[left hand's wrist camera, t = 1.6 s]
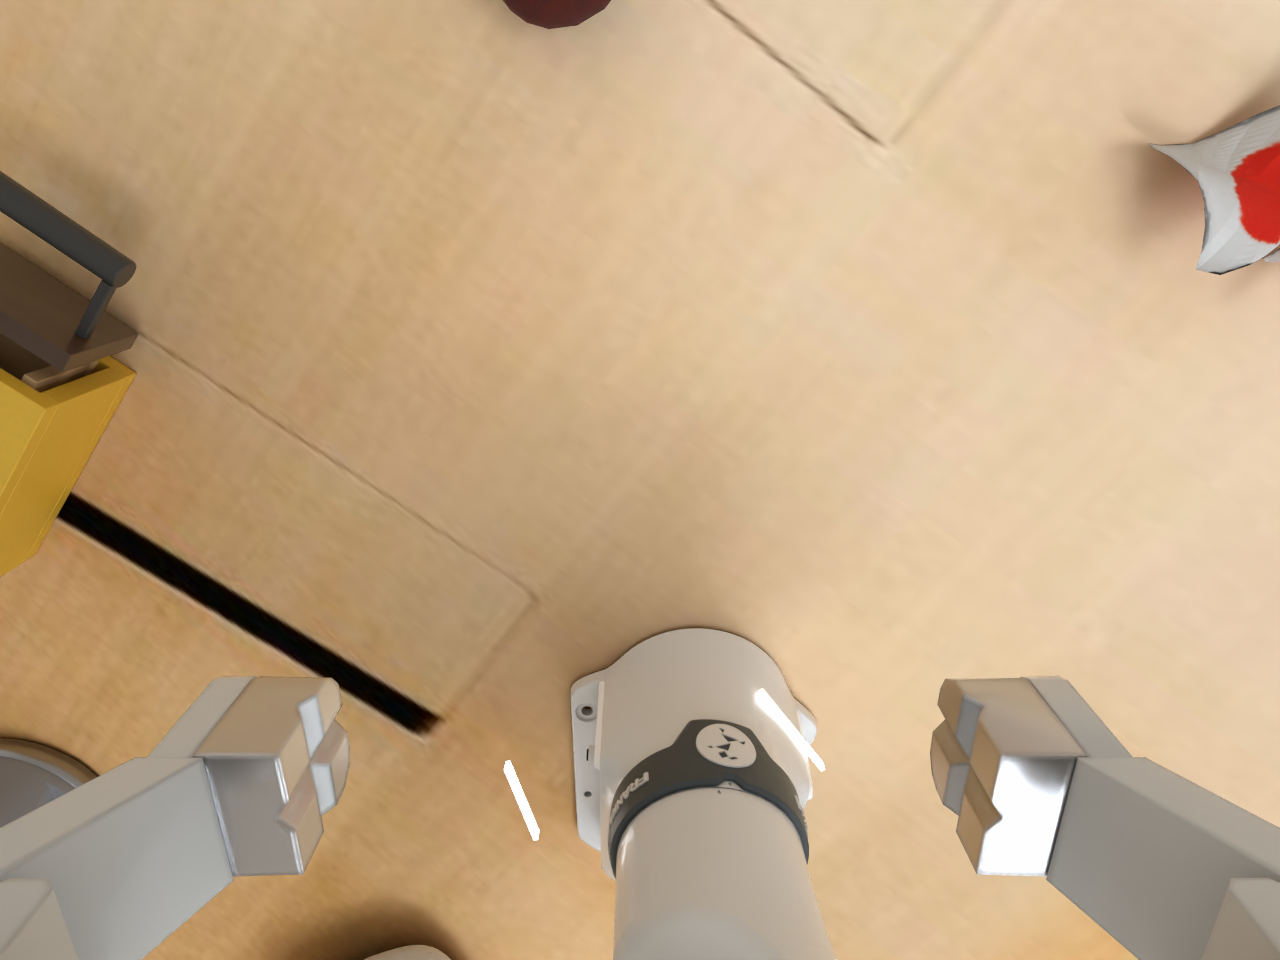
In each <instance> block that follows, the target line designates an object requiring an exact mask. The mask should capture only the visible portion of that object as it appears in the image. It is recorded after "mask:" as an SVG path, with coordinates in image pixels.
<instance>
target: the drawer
mask: <svg viewBox="0 0 1280 960" xmlns="http://www.w3.org/2000/svg"><path fill="white" fill-rule="evenodd" d="M0 211H1V212H2V213H4V214H5V215H7V216H8V217H10V218H11V219H13V220H14V221H16V222H17V223H19V224H20V225H22V226H23V227H25V228H26V229H28V230H29V231H31V232H32V233H34V234H35V235H37V236H38V237H40V238H41V239H43V240H44V241H46V242H47V243H49V244H50V245H52V246H53V247H55V248H56V249H58V250H59V251H61V252H62V253H64V254H65V255H67V256H68V257H70V258H71V259H73V260H74V261H76V262H77V263H79V264H80V265H82V266H83V267H85V268H86V269H88V270H89V271H91V272H92V273H94V274H95V275H97V276H98V277H100V278H101V279H103V280H102V281H101V283H100V285H99V287H98V289H97V291H96V292H95V294H94V296H93V298H92V300H91V302H90V301H88V300H87V299H85V298H84V297H82V296H81V295H79V294H78V293H76V292H75V291H73V290H72V289H70V288H69V287H67V286H66V285H64V284H63V283H61V282H60V281H58V280H57V279H55V278H54V277H52V276H51V275H49V274H47V273H46V272H44V271H43V270H41V269H40V268H38V267H37V266H35V265H34V264H32V263H31V262H29V261H28V260H26V259H25V258H23V257H22V256H20V255H19V254H17V253H16V252H14V251H13V250H11V249H10V248H8V247H7V246H5V245H4V244H2V243H1V242H0V368H1V369H3V370H4V371H6V372H8V373H9V374H11V375H12V376H14V377H16V378H17V379H19V380H20V381H22V382H24V383H25V384H27V385H28V386H30V387H32V388H33V389H35V390H36V391H38V392H40V393H41V392H44V391H47V390H49V389H52V388H55V387H58V386H60V385H63V384H66V383H68V382H71V381H74V380H77V379H79V378H82V377H85V376H87V375H90V374H92V373H93V371H94V369H95V368H96V366H97V364H98V362H99V361H98V359H101V358H104V357H107V356H110V355H113V354H116V353H119V352H122V351H125V350H127V349H130V348H131V347H132V345H133V343H134V341H135V339H136V337H137V336H138V333H137V332H135V331H134V330H132V329H131V328H129V327H128V326H126V325H125V324H123V323H122V322H120V321H119V320H117V319H116V318H114V317H113V316H111V315H110V314H108V313H107V312H105V311H104V310H105V308H106V306H107V305H108V303H109V301H110V299H111V297H112V295H113V293H114V291H115V289H116V288H118V287H121V286H123V285H124V284H126V283H127V282H128V281H129V280H130V279H131V277H132V276H133V274H134V272H135V270H136V264H135V263H134V262H133V261H132V260H130V259H129V258H127V257H126V256H124V255H123V254H121V253H120V252H119V251H117V250H116V249H114V248H113V247H111V246H110V245H108V244H107V243H105V242H104V241H102V240H101V239H99V238H98V237H96V236H95V235H94V234H92V233H91V232H89V231H88V230H86V229H85V228H83V227H82V226H80V225H79V224H77V223H76V222H74V221H73V220H72V219H70V218H69V217H67V216H66V215H64V214H63V213H61V212H60V211H58V210H57V209H55V208H54V207H52V206H51V205H49V204H48V203H47V202H45V201H44V200H42V199H41V198H39V197H38V196H36V195H35V194H33V193H32V192H30V191H29V190H27V189H26V188H25V187H23V186H22V185H20V184H19V183H17V182H16V181H14V180H13V179H11V178H10V177H8V176H7V175H5V174H4V173H2V172H1V171H0Z"/></svg>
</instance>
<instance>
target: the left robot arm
mask: <svg viewBox="0 0 1280 960" xmlns="http://www.w3.org/2000/svg"><path fill="white" fill-rule="evenodd" d="M570 693H571V715H572V735H573V754H574V773H575V793H576V812H577V829H578V835H579V837H580V839H581V840H582V841H584V842H585V843H587V844H588V845H590V846H591V847H593V848H594V849H596V850H598V851H600V852H601V868H602V869H603V871H604V872H605V873H606V874H607V875H608V876H609V877H610V878H611V879H613V880H614V881H615V882H616V889H615V916H614V947H613V960H838V958H837V956H836V954H835V952H834V949H833V947H832V944H831V942H830V939H829V936H828V933H827V930H826V927H825V924H824V921H823V918H822V915H821V912H820V909H819V905H818V902H817V899H816V896H815V893H814V889H813V886H812V882H811V878H810V875H809V871H808V867H807V864H808V857H809V845H808V838H807V837H808V834H807V824H806V820H805V815H804V812H803V809H804V807H805V805H806V803H807V800H809V799H811V798H812V794H813V786H812V780H811V774H810V769H809V763H808V758H807V754H808V756H809V757H810V758H811V759H812V760H813V762H814V763H815V764H816V765H817V767H818V768H819V769H820V770H821V771H823V770H825V768H824V764H823V762H822V760H821V759H820V758H819V757H818V756H817V754H816V753H815V752H814V751H813V749H812V748H811V747H810V745H811V743H812V742H813V740H814V738H815V736H816V734H817V727H816V721H815V718H814V717H813V715H812V714H811V713H810V712H809V711H808V710H807V709H806V708H805V707H804V706H803V705H802V704H800V703H799V702H798V701H797V700H796V699H794V697H793V696H792V694H791V693H790V691H789V689H788V686H787V684H786V681H785V679H784V677H783V675H782V673H781V671H780V669H779V668H778V666H777V665H776V664H775V662H774V661H773V660H772V659H771V658H770V657H769V656H768V655H767V654H766V653H765V652H764V651H763V650H761V649H760V648H759V647H757V646H756V645H755V644H753V643H751V642H749V641H748V640H746V639H744V638H742V637H739V636H737V635H734V634H731V633H728V632H724V631H719V630H714V629H705V628H688V629H679V630H674V631H669V632H665V633H662V634H659V635H656V636H653V637H651V638H649V639H647V640H645V641H643V642H641V643H639V644H638V645H636V646H635V647H633V648H632V649H630V650H629V651H628V652H626V653H625V654H624V655H623V656H622V657H621V658H620V659H618V660H617V661H616V662H615V663H614V664H613V665H611V666H610V667H608V668H607V669H604V670H601V671H598V672H596V673H593V674H590V675H587V676H585V677H583V678H581V679H579V680H577V681H576V682H575V683H574V684H573V685H572V687H571V692H570ZM341 706H342V700H341V695H340V690H339V685H338V683H337V682H336V681H334V680H333V679H332V678H309V677H263V676H260V677H254V676H222V677H220V678H217V679H214V680H212V681H211V682H210V684H209V685H208V686H207V687H206V688H205V689H204V691H203V692H202V693H201V694H200V695H199V697H198V698H197V699H196V700H195V701H194V702H193V704H192V705H191V706H190V707H189V708H188V709H187V711H186V712H185V713H184V714H183V715H182V717H181V718H180V719H179V720H178V721H177V722H176V724H175V725H174V726H173V727H172V728H171V730H170V731H169V732H168V733H167V734H166V735H165V737H164V738H163V739H162V740H161V741H160V742H159V744H158V745H157V746H156V747H155V748H154V750H153V751H152V752H151V753H150V754H149V755H148V757H145V758H133V759H131V760H129V761H127V762H125V763H123V764H121V765H119V766H118V767H116V768H114V769H112V770H110V771H108V772H106V773H104V774H102V775H100V776H98V777H97V778H95V779H93V780H91V781H89V782H87V783H85V784H83V785H81V786H79V787H77V788H75V789H74V790H72V791H70V792H68V793H66V794H64V795H62V796H60V797H58V798H56V799H54V800H53V801H51V802H49V803H47V804H45V805H43V806H41V807H39V808H37V809H35V810H33V811H32V812H30V813H28V814H26V815H24V816H22V817H20V818H18V819H16V820H14V821H12V822H11V823H9V824H7V825H5V826H3V827H1V828H0V960H141V959H143V958H144V957H145V956H146V955H147V954H148V953H150V952H151V951H152V950H153V949H154V948H155V947H157V946H158V945H159V944H160V943H161V942H162V941H163V940H165V939H166V938H167V937H168V936H169V935H170V934H172V933H173V932H174V931H175V930H176V929H177V928H179V927H180V926H181V925H182V924H183V923H184V922H186V921H187V920H188V919H189V918H190V917H191V916H192V915H194V914H195V913H196V912H197V911H198V910H199V909H201V908H202V907H203V906H204V905H205V904H206V903H208V902H209V901H210V900H211V899H212V898H213V897H215V896H216V895H217V894H218V893H219V892H220V891H221V890H223V889H224V888H225V887H226V886H227V885H228V884H230V883H231V882H232V881H233V876H261V875H295V874H303V873H304V871H305V869H306V867H307V865H308V863H309V861H310V859H311V857H312V855H313V853H314V851H315V849H316V847H317V845H318V843H319V841H320V838H321V836H322V834H323V832H324V830H323V824H322V819H321V816H322V815H323V814H324V813H326V812H327V811H328V810H330V809H331V808H333V807H334V806H335V805H337V803H338V801H339V798H340V796H341V794H342V792H343V790H344V787H345V783H346V778H347V774H348V769H349V749H350V747H349V740H348V734H347V731H346V730H345V729H344V728H343V727H342V726H341V725H340V724H339V723H338V722H337V721H336V720H335V717H336V715H337V714H338V712H339V710H340V708H341ZM585 706H589V707H591V709H584V708H583V707H585ZM938 706H939V708H940V710H941V712H942V714H943V715H944V717H945V720H944V721H943V722H942V723H941V724H940V725H939V726H938V727H937V728H936V729H935V730H934V731H933V734H932V742H931V750H930V757H931V769H932V776H933V779H934V783H935V787H936V790H937V792H938V794H939V796H940V799H941V801H942V803H943V805H945V806H946V807H947V808H949V809H950V810H952V811H953V812H954V813H956V814H957V815H958V816H959V819H958V824H957V830H956V832H957V834H958V836H959V838H960V841H961V843H962V845H963V847H964V849H965V851H966V853H967V855H968V857H969V859H970V861H971V863H972V865H973V867H974V869H975V871H976V873H977V874H983V875H1018V876H1047V879H1046V880H1047V881H1048V882H1050V883H1051V884H1052V885H1053V886H1054V887H1055V888H1057V889H1058V890H1059V891H1060V892H1061V893H1062V894H1064V895H1065V896H1066V897H1067V898H1068V899H1069V900H1070V901H1072V902H1073V903H1074V904H1075V905H1076V906H1077V907H1079V908H1080V909H1081V910H1082V911H1083V912H1084V913H1086V914H1087V915H1088V916H1089V917H1090V918H1091V919H1092V920H1094V921H1095V922H1096V923H1097V924H1098V925H1099V926H1101V927H1102V928H1103V929H1104V930H1105V931H1106V932H1107V933H1109V934H1110V935H1111V936H1112V937H1113V938H1114V939H1116V940H1117V941H1118V942H1119V943H1120V944H1121V945H1123V946H1124V947H1125V948H1126V949H1127V950H1128V951H1129V952H1131V953H1132V954H1133V955H1134V956H1135V957H1136V958H1138V959H1139V960H1280V828H1279V827H1277V826H1275V825H1273V824H1271V823H1269V822H1267V821H1265V820H1263V819H1262V818H1260V817H1258V816H1256V815H1254V814H1252V813H1250V812H1248V811H1246V810H1244V809H1242V808H1241V807H1239V806H1237V805H1235V804H1233V803H1231V802H1229V801H1227V800H1225V799H1223V798H1221V797H1220V796H1218V795H1216V794H1214V793H1212V792H1210V791H1208V790H1206V789H1204V788H1202V787H1201V786H1199V785H1197V784H1195V783H1193V782H1191V781H1189V780H1187V779H1185V778H1183V777H1181V776H1180V775H1178V774H1176V773H1174V772H1172V771H1170V770H1168V769H1166V768H1164V767H1162V766H1161V765H1159V764H1157V763H1155V762H1153V761H1151V760H1149V759H1147V758H1135V757H1132V755H1131V754H1130V753H1129V752H1128V751H1127V750H1126V748H1125V747H1124V746H1123V745H1122V744H1121V743H1120V741H1119V740H1118V739H1117V738H1116V737H1115V735H1114V734H1113V733H1112V732H1111V731H1110V730H1109V728H1108V727H1107V726H1106V725H1105V724H1104V723H1103V721H1102V720H1101V719H1100V718H1099V717H1098V715H1097V714H1096V713H1095V712H1094V711H1093V710H1092V708H1091V707H1090V706H1089V705H1088V704H1087V703H1086V701H1085V700H1084V699H1083V698H1082V697H1081V695H1080V694H1079V693H1078V692H1077V691H1076V690H1075V688H1074V687H1073V686H1072V685H1071V684H1070V682H1069V681H1068V680H1066V679H1064V678H1062V677H1060V676H1037V677H1020V678H976V679H945V681H944V682H943V684H942V686H941V688H940V693H939V699H938ZM504 771H505V773H506V776H507V778H508V780H509V783H510V785H511V788H512V790H513V792H514V795H515V797H516V799H517V802H518V804H519V806H520V809H521V811H522V814H523V816H524V818H525V821H526V823H527V825H528V828H529V830H530V832H531V835H532V837H533V840H538V836H539V829H538V826H537V824H536V822H535V819H534V817H533V815H532V812H531V810H530V807H529V805H528V803H527V800H526V798H525V795H524V793H523V791H522V788H521V786H520V783H519V781H518V779H517V776H516V774H515V771H514V769H513V767H512V764H511V762H510V761H506V763H505V768H504Z"/></svg>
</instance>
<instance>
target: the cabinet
mask: <svg viewBox="0 0 1280 960" xmlns="http://www.w3.org/2000/svg"><path fill="white" fill-rule="evenodd" d="M98 361H99V362H98V364H97V366H96V368H95V369H94V371H93V373H92V374H90V375H87V376H85V377H82V378H79V379H77V380H74V381H71V382H68V383H66V384H63V385H60V386H58V387H55V388H52V389H49V390H47V391H44V392H41V393H40V392H38V391H36V390H35V389H33V388H32V387H30V386H28V385H27V384H25V383H24V382H22V381H20V380H19V379H17V378H16V377H14V376H12V375H11V374H9V373H8V372H6V371H4V370H3V369H1V368H0V577H1V576H2V575H4V574H5V573H7V572H9V571H10V570H12V569H13V568H15V567H16V566H18V565H20V564H21V563H23V562H24V561H26V560H27V559H29V558H30V557H32V556H33V555H35V554H36V553H37V551H38V549H39V547H40V545H41V544H42V542H43V540H44V538H45V536H46V535H47V533H48V531H49V529H50V528H51V526H52V524H53V522H54V520H55V519H56V517H57V515H58V513H59V511H60V510H61V508H62V506H63V504H64V502H65V501H66V499H67V497H68V495H69V493H70V492H71V490H72V488H73V486H74V485H75V483H76V481H77V479H78V477H79V476H80V474H81V472H82V470H83V468H84V467H85V465H86V463H87V461H88V459H89V458H90V456H91V454H92V452H93V450H94V449H95V447H96V445H97V443H98V441H99V440H100V438H101V436H102V434H103V433H104V431H105V429H106V427H107V425H108V424H109V422H110V420H111V418H112V416H113V415H114V413H115V411H116V409H117V407H118V406H119V404H120V402H121V400H122V398H123V397H124V395H125V393H126V391H127V390H128V388H129V386H130V384H131V382H132V381H133V379H134V377H135V375H136V373H135V372H134V371H132V370H131V369H129V368H128V367H126V366H124V365H123V364H121V363H120V362H118V361H117V360H115V359H114V358H112V357H111V356H107V357H104V358H101V359H98Z"/></svg>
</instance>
